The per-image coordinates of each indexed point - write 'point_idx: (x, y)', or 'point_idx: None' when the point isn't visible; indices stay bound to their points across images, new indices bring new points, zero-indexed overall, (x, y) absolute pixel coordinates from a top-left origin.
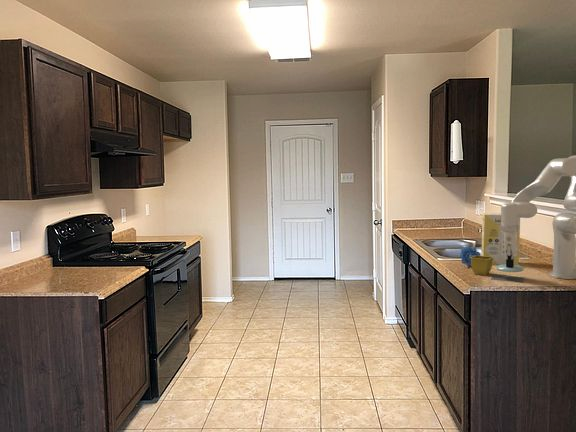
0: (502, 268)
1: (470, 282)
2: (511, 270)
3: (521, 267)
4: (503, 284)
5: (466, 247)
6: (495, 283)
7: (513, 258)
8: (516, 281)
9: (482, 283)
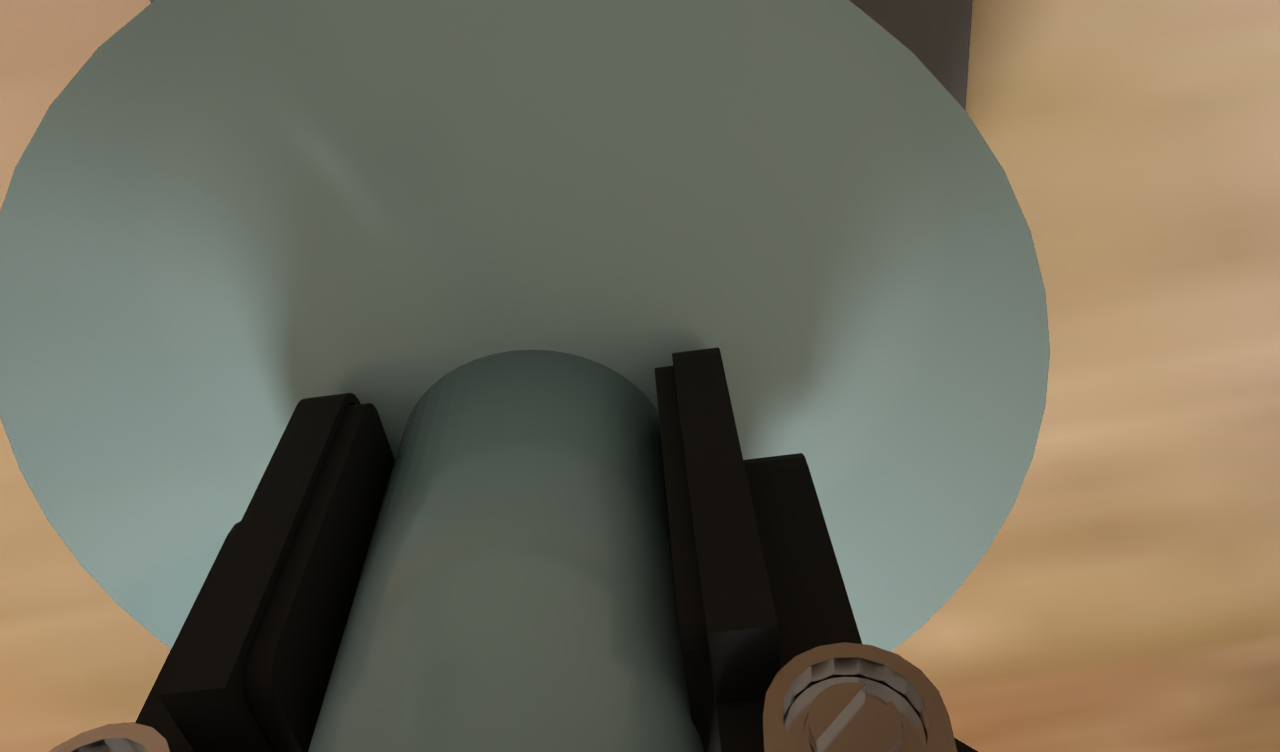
0: (897, 597)
1: (1225, 748)
2: (1033, 313)
3: (434, 28)
4: (1259, 265)
5: None
6: (1192, 425)
7: (511, 674)
8: (912, 20)
9: (1261, 605)
